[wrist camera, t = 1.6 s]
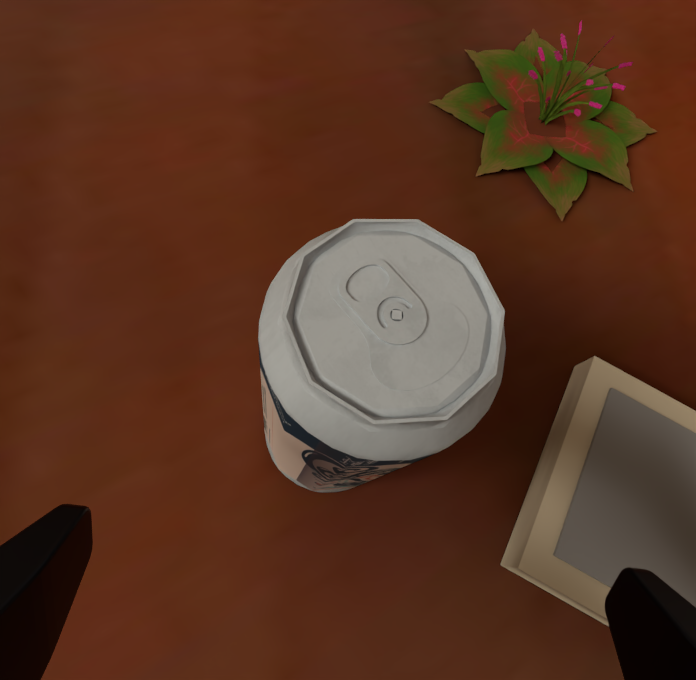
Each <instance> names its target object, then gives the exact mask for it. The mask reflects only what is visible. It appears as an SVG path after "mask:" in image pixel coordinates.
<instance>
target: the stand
mask: <svg viewBox="0 0 696 680" xmlns="http://www.w3.org/2000/svg"><path fill="white" fill-rule="evenodd" d="M500 565H501V566H503V567H505V568H507V569H508V570H510V571H512V572H514V573H515V574H517V575H519V576H521V577H522V578H524V579H526V580H528V581H529V582H531V583H533V584H535V585H536V586H538V587H540V588H542V589H543V590H545V591H547V592H549V593H551V594H552V595H554V596H556V597H558V598H559V599H561V600H563V601H565V602H566V603H568V604H570V605H572V606H573V607H575V608H577V609H579V610H580V611H582V612H584V613H586V614H587V615H589V616H591V617H593V618H595V619H596V620H598V621H600V622H602V623H603V624H605V625H607V626H609V624H608V620H607V617H606V613H605V599H606V596H607V594H608V593H609V591H610V589H611V587H612V586H613V584H614V582H615V580H616V579H617V577H618V575H619V573H620V572H621V571H622V570H623V569H624V568H627V567H631V568H640V569H647V570H649V571H651V572H653V573H654V574H655V575H657V576H658V577H659V578H660V579H662V580H663V581H664V582H665V583H666V584H668V585H669V586H670V587H671V588H673V589H674V590H675V591H676V592H677V593H679V594H680V595H681V596H682V597H684V598H685V599H686V600H687V601H688V602H690V603H691V604H692V605H693V606H695V607H696V411H695V410H693V409H691V408H689V407H688V406H686V405H684V404H682V403H680V402H678V401H677V400H675V399H673V398H671V397H669V396H667V395H666V394H664V393H662V392H660V391H658V390H656V389H655V388H653V387H651V386H649V385H647V384H645V383H644V382H642V381H640V380H638V379H636V378H634V377H633V376H631V375H629V374H627V373H625V372H623V371H622V370H620V369H618V368H616V367H614V366H612V365H611V364H609V363H607V362H605V361H603V360H601V359H600V358H598V357H596V356H593V357H591V358H590V359H588V360H586V361H584V362H582V363H580V364H578V365H576V366H574V369H573V372H572V374H571V377H570V380H569V382H568V385H567V388H566V390H565V393H564V396H563V398H562V401H561V404H560V406H559V409H558V412H557V414H556V417H555V420H554V422H553V425H552V428H551V430H550V433H549V436H548V438H547V441H546V444H545V446H544V449H543V452H542V454H541V457H540V460H539V462H538V465H537V468H536V470H535V473H534V476H533V478H532V481H531V484H530V486H529V489H528V492H527V494H526V497H525V500H524V502H523V505H522V508H521V510H520V513H519V516H518V518H517V521H516V524H515V526H514V529H513V532H512V534H511V537H510V540H509V542H508V545H507V548H506V550H505V553H504V556H503V558H502V561H501V564H500Z"/></svg>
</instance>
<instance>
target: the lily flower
mask: <svg viewBox="0 0 696 680" xmlns="http://www.w3.org/2000/svg"><path fill="white" fill-rule="evenodd" d="M579 25H580V26H579V32H578V35H579V36H580V33H581V29H582V27H581V25H582V21H581V22H580V23H579ZM538 36H539V35H538V34H537V33H536V31H535V30H534V29H533V30H532V32H531V34H529V35H528V36H527V37H526V41H525V42H524V41H522V42H521V43H520V44H519V45H518V46H517V47H516V49H515V51H514V52H513V51H511V50H484V51H482V52H478V53H477V52H476V51H471V50H465V49H464V50H465V51H466V52H467V53H468V54H469V56H470V58H471V59H472V60H473V61H474V62H475V63H474V64H475V65H476V67H477V68H478V69H479V71H480V73H481V76H482V78H483V81H484V83H469V84H465V85H462V86H460V87H458V88H456V89H454V90H453V91H451V92H449V93H447V94H446V95H445V97H444V98H443V99H442V100H440V99H437V100H434V101H431V102H429V103H432V104H434V105H436V106H438V107H439V108H441V109H443V110H445V111H446V112H448V113H452V114H453V115H454V117H456V118H458V119H459V120H461V121H463V122H465V123H467V124H468V125H470V126H471V127H473V128H475V129H476V130H478V131H480V132H482V133H484V134H485V135H484V140H483V145H482V151H481V159H482V160H481V162H482V165H481V166H479V168H478V171H477V174H476V176H479V175H482V174H485V173H492V172H498V171H500V170H501V169H506V170H510V169H515V168H520V167H524V169H525V171H526V173H527V174H528V176H529V177H530V178H531V180H532V181H533V182H534V183H535V185H536V186H537V188H538V189H539V190H540V192H541V193H542V194H543V196H544V197H545V198H546V200H547V201H548V202H549V204H551V205H552V206H553V207H554V208H555V209H556V213H557V214H558V216H559V217H560V219H561V221H563V219H564V216H565V214H566V213H567V211H568V210H569V209H570V207H571V206H572V201H573V200H577V198H578V197H579V196H580V194H581V193H582V191H583V189H584V187H585V184H586V181H587V170H586V169H589V170H592V171H595V172H599V173H601V174H603V175H604V176H606V177H608V178H610V179H612V180H614V181H616V182H618V183H622V184H623V185H624V186H625V187H627V188H629V189H630V190H632V191H633V188H632V185H631V183H630V181H631V180H630V173H629V168H627V166H626V164H627V163H628V156H627V150H626V146H629V145H631V144H633V143H635V142H637V141H639V140H641V139H643V138H644V137H645V135H646V134H647V133H649V134H651V133H654V132H658V131H656V130H654V129H652V128H649V126H648V125H647V124H646V123H644V122H643V121H642V120H641V119H636V117H635V114H634V113H632V112H631V111H630V110H629V109H627V108H626V107H624V106H623V105H620V104H618V103H615V102H613V101H609V100H610V97H611V93H612V88H615V89H616V88H617V89H621V90H622V91H623V90H624V88H625V86H623V85H620V84H618V83H617V84H616V83H613V84H610V82H609V79H608V78H607V77H606V76H605V74H606V72H608V71H610V70H612V69H615V68H622V67H626V66H631V65H632V63H633V62H629V63H623V64H620V65H619V66H616V67H613V68H611V69H608V70H606V69H604V68H602V69H601V68H598V67H595V66H592V65H593V64H592V65H590V66H588V64H589V63H590V62H591V61H592V60H591V61H590V62H589V63H588V64H586V63H584V62H580V61H574V58H575V54H576V50H577V45H578V41H579V36H578V41H577V45H576V48H575V52H574V56H573V59H572V61H569V62H566V61H567V50H566V49H567V46H566V45H567V43H566V39H565V36H564V35H563V34H561V36H562V38H561V41H562V42H561V44H562V48H563V49H564V55H563V57H562V55H561V54H560V53H559V51H557V50H556V49H555V48H554V47H553V46H552V45H550V44H549V43H548V42H547V41H545V40H542V39H540V38H539V37H538ZM613 37H614V36H613ZM613 37H612V38H613ZM612 38H611V39H612ZM611 39H610V40H611ZM610 40H609V41H610ZM609 41H608V42H609ZM608 42H607V43H608ZM607 43H606V44H607ZM606 44H605V45H606ZM605 45H604V46H605ZM599 52H600V51H599ZM599 52H598V53H599ZM598 53H597V54H598ZM597 54H596V55H597ZM596 55H595V56H596ZM535 56H537V59H538V61H539V64H540V66H541V68H542V70H543V71H544V75H543V81H542V79H541V76H540V74H539V73H538V71H537V70H536V68H535V67H534V61H535ZM595 56H594V57H595ZM546 74H547V75H546ZM611 86H612V88H611ZM524 102H540V112H541V113H540V117H539V119H541V120H543V121H544V120H545V125H546V124H547V123H548V122H549V121H551V120H553V119H555V118H557V117H559V116H561V115H563V116H564V121H565V125H566V138H562V137H543V136H538V135H534V134H529V133H528V128H527V124H526V120H525V116H524ZM545 103H548V106H547V109H546V111H545ZM498 104H501V105H502V106H503V107H504V108H506V109H507V110H502V111H498V112H496V113H495V114H494V115H493V116H492V117H491V118H490V117H488V116H486V115H485V114H483V113H481V112H479V111H484V110H485V109H487V108H490V107H493V106H495V105H498ZM561 110H562V111H563V112H560V111H561ZM520 112H521V113H520ZM544 112H545V113H544ZM558 112H560V113H558ZM557 113H558V114H557ZM556 114H557V115H556ZM546 117H547V118H546ZM593 117H594V118H596V119H598V120H599V121H601V122H602V123H603V124H604V125H603V124H601V123H598V122H595V121H591V120H588V119H591V118H593ZM543 121H542V122H543ZM542 122H541V123H542ZM605 125H606V126H609V127H612V128H615V129H610V128H608V127H606V126H605ZM553 149H554V150H555V151H556V152H557V153H558V154H560V155H561V156H562V157H563V158H562V160H561V161H560V162H559V164H558V165H557V166H556V168H555V169H554V171H553V172H551V171H550V170H549V168H548V167H547V166H546V164H545V163H544V162H543V161H545V160H547V159H548V158H549V157H550V156H551V155H552V153H553ZM476 176H475V177H476ZM633 192H634V191H633Z"/></svg>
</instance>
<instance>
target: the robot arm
mask: <svg viewBox="0 0 696 680" xmlns="http://www.w3.org/2000/svg"><path fill="white" fill-rule="evenodd" d="M92 545H93V540H92V521H91V511H90V509H89V508H88V507H86V506H81V505H72V504H62V505H60V506H58V507H56V508H55V509H53V510H52V511H50V512H49V513H47V514H46V515H44V516H43V517H42V518H40V519H39V520H37V521H36V522H34V523H33V524H31V525H30V526H29V527H27V528H26V529H24V530H23V531H21V532H20V533H18V534H17V535H15V536H14V537H13V538H11V539H10V540H8V541H7V542H5V543H4V544H2V545H1V546H0V680H41V678H42V676H43V673H44V671H45V669H46V667H47V665H48V663H49V661H50V659H51V656H52V654H53V652H54V649H55V647H56V644H57V642H58V639H59V637H60V634H61V631H62V629H63V626H64V624H65V621H66V619H67V616H68V613H69V611H70V608H71V606H72V603H73V600H74V598H75V595H76V593H77V590H78V588H79V585H80V582H81V580H82V577H83V575H84V572H85V569H86V567H87V564H88V562H89V559H90V556H91V552H92ZM605 613H606V617H607V620H608V624H609V627H610V631H611V634H612V638H613V641H614V645H615V648H616V652H617V655H618V659H619V662H620V666H621V669H622V673H623V676H624V680H696V607H695V606H693V605H692V604H691V603H690V602H688V601H687V600H686V599H685V598H684V597H682V596H681V595H680V594H679V593H677V592H676V591H675V590H674V589H673V588H671V587H670V586H669V585H668V584H666V583H665V582H664V581H663V580H662V579H660V578H659V577H658V576H657V575H655V574H654V573H653V572H651V571H649V570H647V569H640V568H631V567H627V568H624V569H623V570H622V571H621V572H620V573H619V575H618V577H617V579H616V580H615V582H614V584H613V586H612V587H611V589H610V591H609V593H608V594H607V596H606V599H605Z"/></svg>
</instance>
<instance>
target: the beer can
mask: <svg viewBox="0 0 696 680" xmlns="http://www.w3.org/2000/svg"><path fill="white" fill-rule="evenodd" d="M504 314H505V310H504V308H503V306H502V305H501V303H500V301H499V299H498V297H497V295H496V293H495V291H494V289H493V288H492V286H491V284H490V282H489V280H488V278H487V276H486V274H485V272H484V271H483V269H482V267H481V265H480V263H479V261H478V259H477V257H476V255H475V253H473V252H471V251H470V250H468V249H466V248H465V247H463V246H461V245H460V244H458V243H456V242H455V241H453V240H451V239H450V238H448V237H446V236H445V235H443V234H441V233H440V232H438V231H436V230H435V229H433V228H431V227H430V226H428V225H426V224H425V223H423V222H421V221H420V220H418V219H353V220H351V221H350V222H348V223H347V224H345V225H344V226H342V227H339V228H337V229H334V230H332V231H329V232H326V233H324V234H323V235H321V236H319V237H317V238H315V239H313V240H311V241H309V242H308V243H307V244H305V245H304V246H303V247H302V248H301V249H300V250H298V251H297V252H296V253H295V254H294V255H293V256H291V257H290V258H289V259H288V260H287V261H286V262H285V264H284V265H283V266H282V268H281V269H280V271H279V272H278V274H277V275H276V277H275V278H274V279H273V281H272V282H271V284H270V287H269V289H268V291H267V294H266V297H265V301H264V305H263V309H262V312H261V316H260V320H259V336H258V341H259V356H260V371H261V385H262V400H263V415H264V430H265V437H266V442H267V447H268V450H269V452H270V455H271V457H272V460H273V461H274V463H275V464H276V466H277V467H278V469H279V470H280V471H281V472H282V473H283V474H284V475H285V476H286V477H287V478H289V479H290V480H291V481H293V482H294V483H296V484H297V485H299V486H301V487H304V488H306V489H309V490H311V491H316V492H340V491H344V490H347V489H351V488H354V487H356V486H359V485H361V484H363V483H366V482H368V481H371V480H373V479H375V478H378V477H380V476H383V475H385V474H387V473H390V472H392V471H395V470H397V469H399V468H402V467H404V466H407V465H409V464H411V463H414V462H416V461H419V460H421V459H423V458H426V457H428V456H431V455H433V454H435V453H438V452H440V451H442V450H444V449H446V448H448V447H449V446H451V445H452V444H453V443H455V442H456V441H457V440H459V439H460V438H461V437H463V436H464V435H465V434H467V433H468V432H470V431H471V430H472V429H473V428H474V427H475V426H476V424H477V423H478V422H479V421H480V420H481V418H482V417H483V416H484V415H485V414H486V413H487V411H488V410H489V408H490V406H491V404H492V402H493V400H494V398H495V396H496V393H497V391H498V389H499V387H500V384H501V380H502V375H503V367H504V359H505V351H506V343H505V332H504V323H503V322H504Z"/></svg>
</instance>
